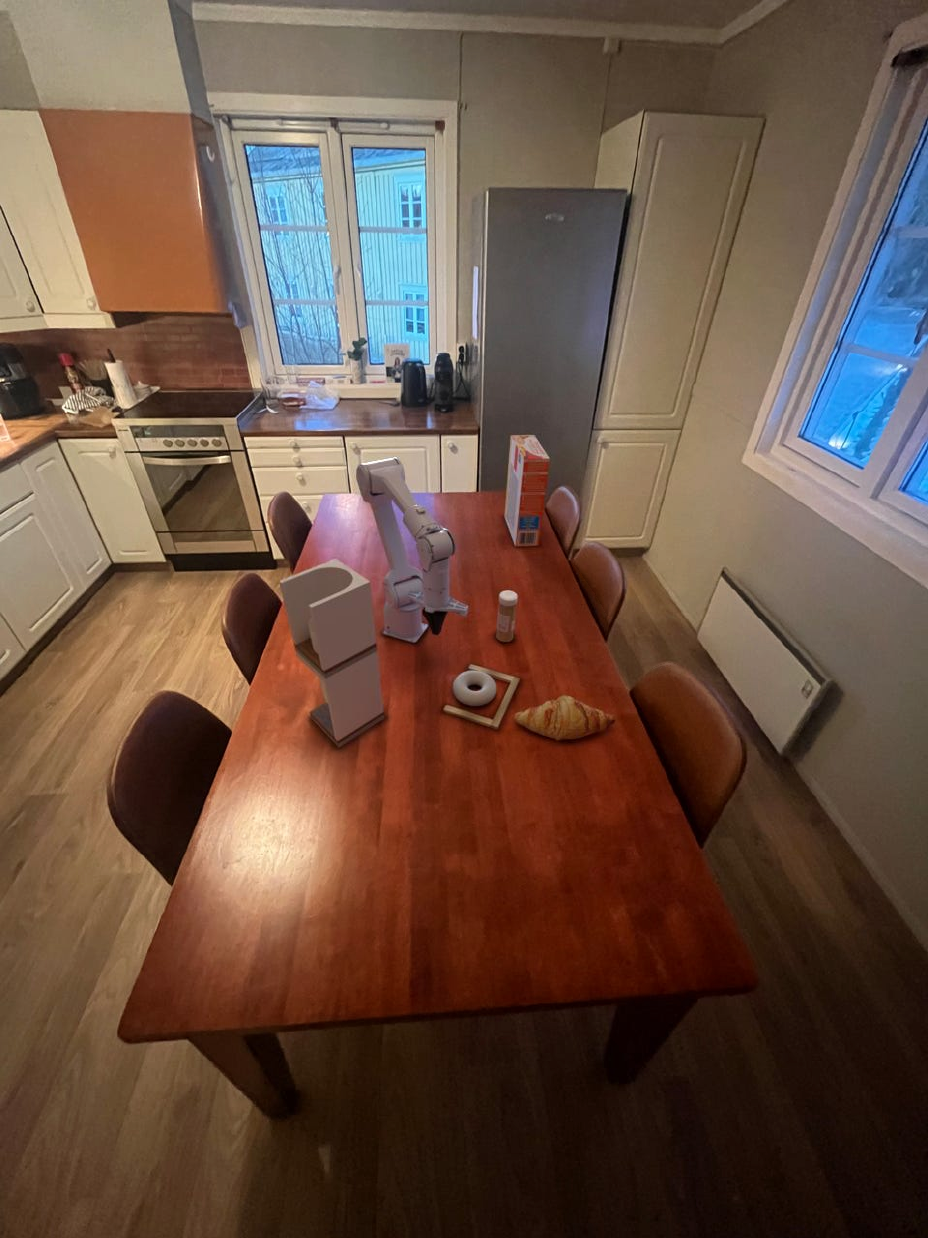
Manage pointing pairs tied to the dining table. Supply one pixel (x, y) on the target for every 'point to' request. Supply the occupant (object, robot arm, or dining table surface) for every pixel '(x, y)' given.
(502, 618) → the sprinkles bottle
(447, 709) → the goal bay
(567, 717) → the croissant
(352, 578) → the grey pedestal stand
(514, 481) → the cereal box
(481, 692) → the donut
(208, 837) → the dining table surface
